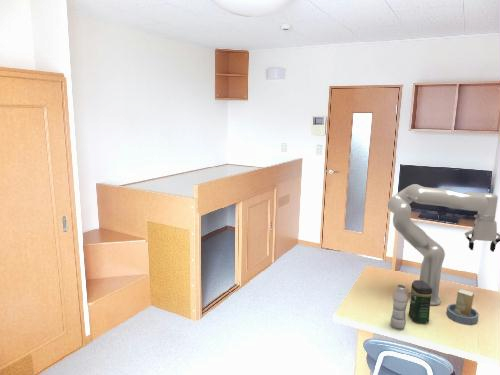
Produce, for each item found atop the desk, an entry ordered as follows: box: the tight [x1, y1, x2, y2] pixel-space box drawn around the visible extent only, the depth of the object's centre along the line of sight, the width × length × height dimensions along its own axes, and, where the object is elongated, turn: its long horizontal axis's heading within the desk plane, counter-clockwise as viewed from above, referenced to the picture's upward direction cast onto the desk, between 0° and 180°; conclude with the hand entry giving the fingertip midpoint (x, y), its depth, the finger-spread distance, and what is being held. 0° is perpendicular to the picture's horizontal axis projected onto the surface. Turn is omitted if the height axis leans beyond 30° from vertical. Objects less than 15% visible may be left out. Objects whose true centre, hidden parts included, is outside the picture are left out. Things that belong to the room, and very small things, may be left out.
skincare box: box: [454, 288, 475, 317], centre depth 182 cm, size 6×4×12 cm
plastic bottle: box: [390, 284, 409, 330], centre depth 173 cm, size 6×7×20 cm
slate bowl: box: [445, 303, 480, 326], centre depth 183 cm, size 13×13×4 cm
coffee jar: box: [408, 279, 432, 325], centre depth 180 cm, size 10×8×19 cm
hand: (481, 250), depth 193 cm, fingers open, 9 cm apart
